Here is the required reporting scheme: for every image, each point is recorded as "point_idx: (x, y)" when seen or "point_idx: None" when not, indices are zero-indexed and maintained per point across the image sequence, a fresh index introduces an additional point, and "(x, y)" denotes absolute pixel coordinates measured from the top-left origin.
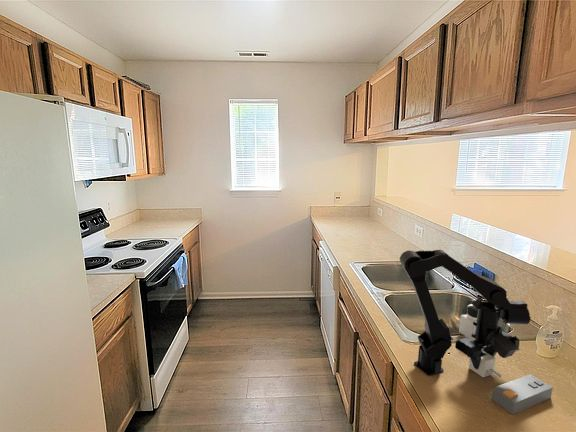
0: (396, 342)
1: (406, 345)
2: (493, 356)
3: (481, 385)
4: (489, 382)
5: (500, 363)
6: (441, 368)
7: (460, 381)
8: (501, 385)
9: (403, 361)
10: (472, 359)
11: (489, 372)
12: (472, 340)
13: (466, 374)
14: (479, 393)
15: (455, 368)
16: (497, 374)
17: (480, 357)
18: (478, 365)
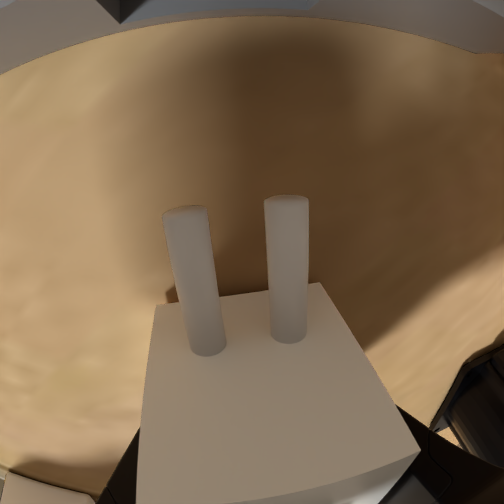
0: None
1: None
2: (116, 499)
3: (419, 198)
4: (313, 208)
5: (7, 375)
6: (466, 377)
7: (482, 277)
8: (494, 3)
9: None
10: None
11: (306, 301)
12: (85, 500)
13: (392, 336)
14: (494, 137)
15: (390, 387)
16: (209, 247)
17: (457, 488)
18: None
